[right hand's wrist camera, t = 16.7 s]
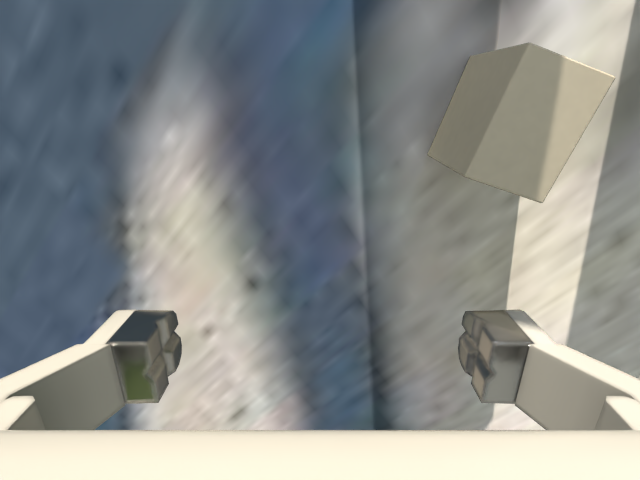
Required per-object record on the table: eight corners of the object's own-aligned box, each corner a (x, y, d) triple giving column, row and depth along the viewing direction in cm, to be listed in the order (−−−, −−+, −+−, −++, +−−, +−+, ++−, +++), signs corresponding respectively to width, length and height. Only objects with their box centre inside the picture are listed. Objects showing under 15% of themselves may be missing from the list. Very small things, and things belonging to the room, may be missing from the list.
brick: (535, 80, 25) (617, 76, 18) (486, 175, 27) (542, 203, 21) (469, 55, 24) (529, 41, 17) (426, 155, 27) (463, 176, 20)
